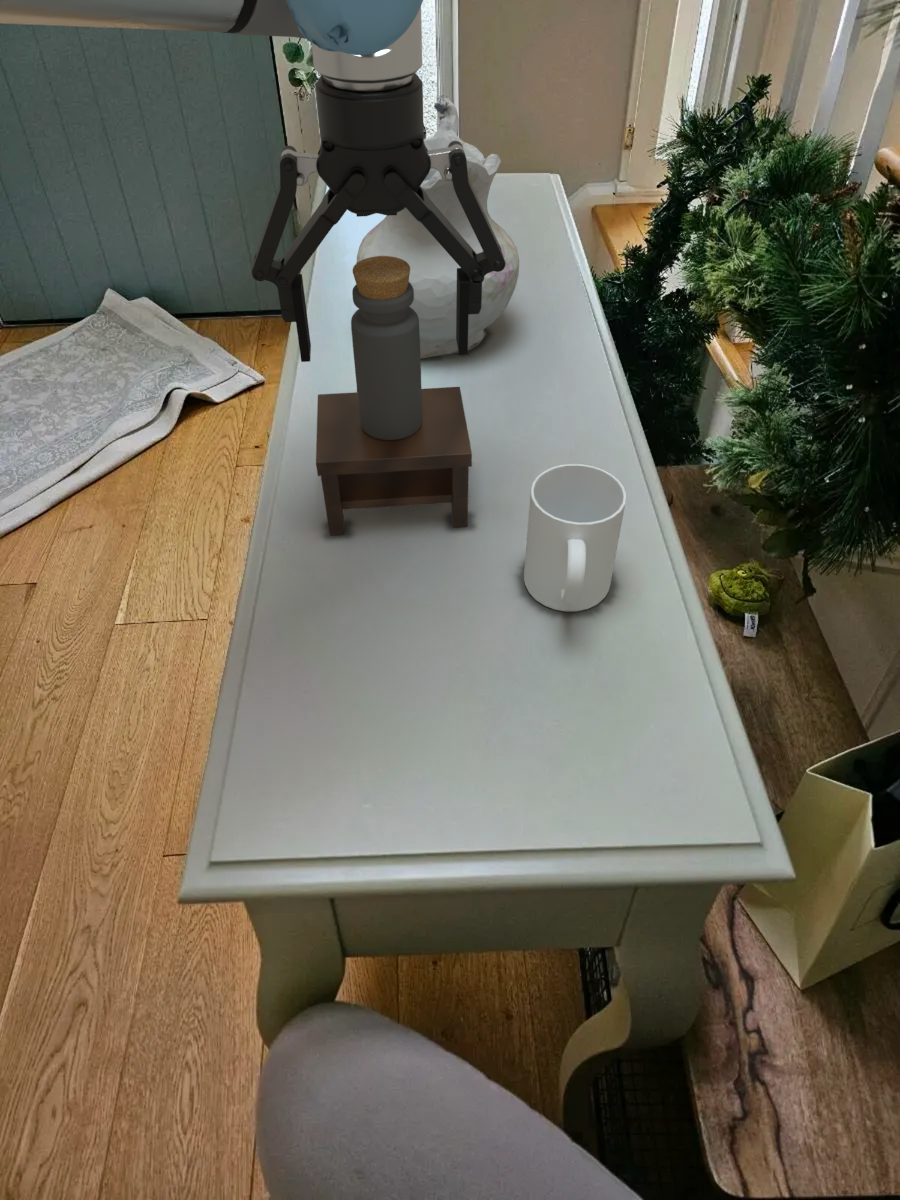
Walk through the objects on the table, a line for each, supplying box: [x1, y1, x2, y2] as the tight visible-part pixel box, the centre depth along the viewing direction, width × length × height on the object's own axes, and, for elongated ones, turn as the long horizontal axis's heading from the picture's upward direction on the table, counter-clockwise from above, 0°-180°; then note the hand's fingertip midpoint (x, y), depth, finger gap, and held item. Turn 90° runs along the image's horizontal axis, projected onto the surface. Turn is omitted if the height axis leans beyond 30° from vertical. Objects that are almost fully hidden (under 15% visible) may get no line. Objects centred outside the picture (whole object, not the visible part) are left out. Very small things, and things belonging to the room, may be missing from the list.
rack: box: [315, 386, 473, 536], centre depth 84 cm, size 14×11×9 cm
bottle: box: [350, 256, 422, 440], centre depth 75 cm, size 6×6×15 cm
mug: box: [523, 463, 627, 612], centre depth 73 cm, size 12×8×10 cm, turn 174°
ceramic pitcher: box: [356, 94, 520, 359], centre depth 101 cm, size 22×20×25 cm
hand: (384, 350), depth 75 cm, fingers open, 13 cm apart
